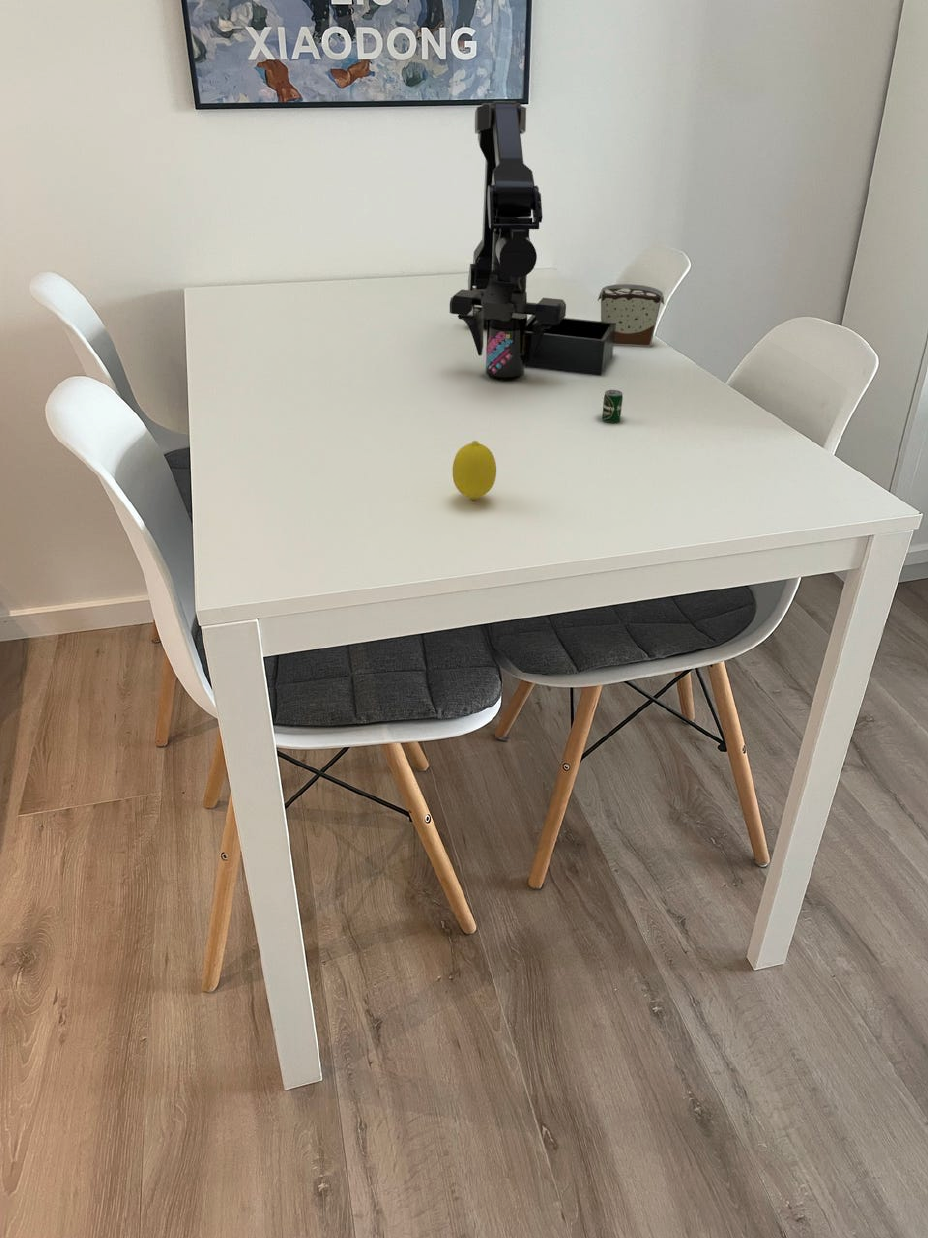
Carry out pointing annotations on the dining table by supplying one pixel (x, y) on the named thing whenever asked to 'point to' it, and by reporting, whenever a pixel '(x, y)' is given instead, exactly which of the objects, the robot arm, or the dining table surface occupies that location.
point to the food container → (631, 312)
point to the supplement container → (506, 348)
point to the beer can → (612, 406)
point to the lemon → (474, 470)
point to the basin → (573, 346)
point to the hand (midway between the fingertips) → (505, 357)
